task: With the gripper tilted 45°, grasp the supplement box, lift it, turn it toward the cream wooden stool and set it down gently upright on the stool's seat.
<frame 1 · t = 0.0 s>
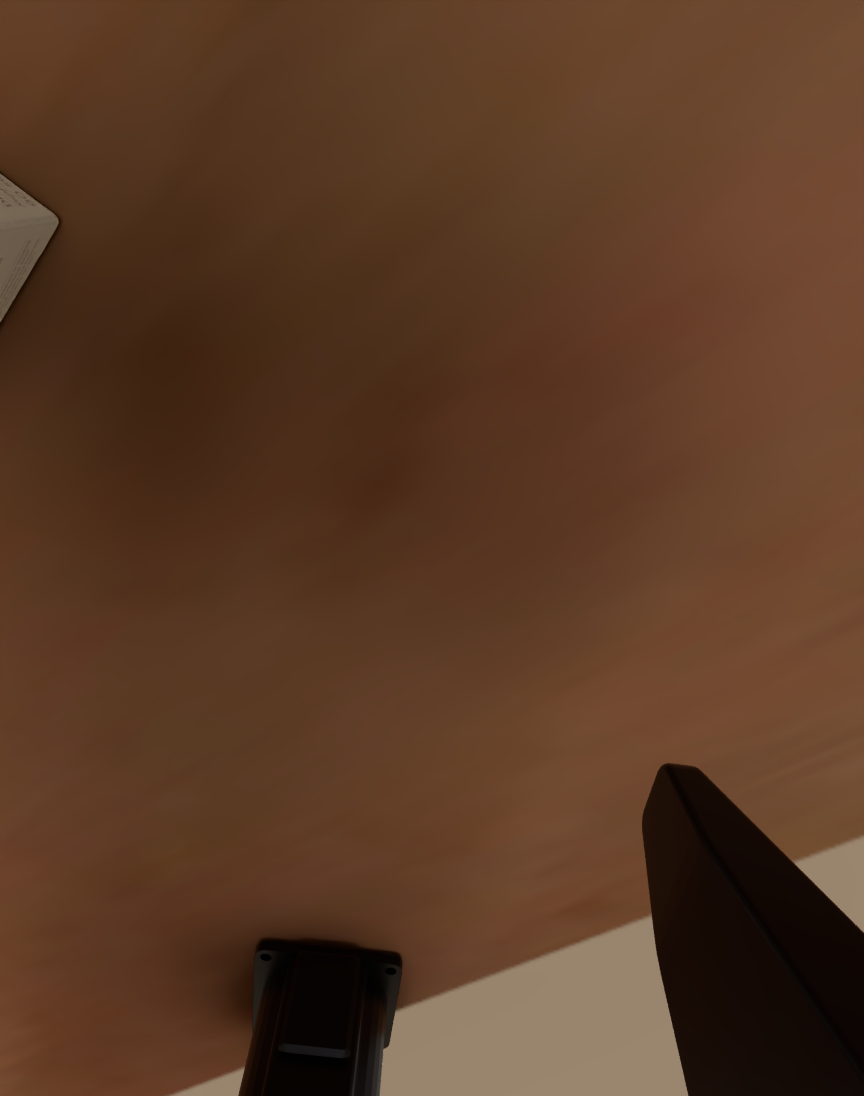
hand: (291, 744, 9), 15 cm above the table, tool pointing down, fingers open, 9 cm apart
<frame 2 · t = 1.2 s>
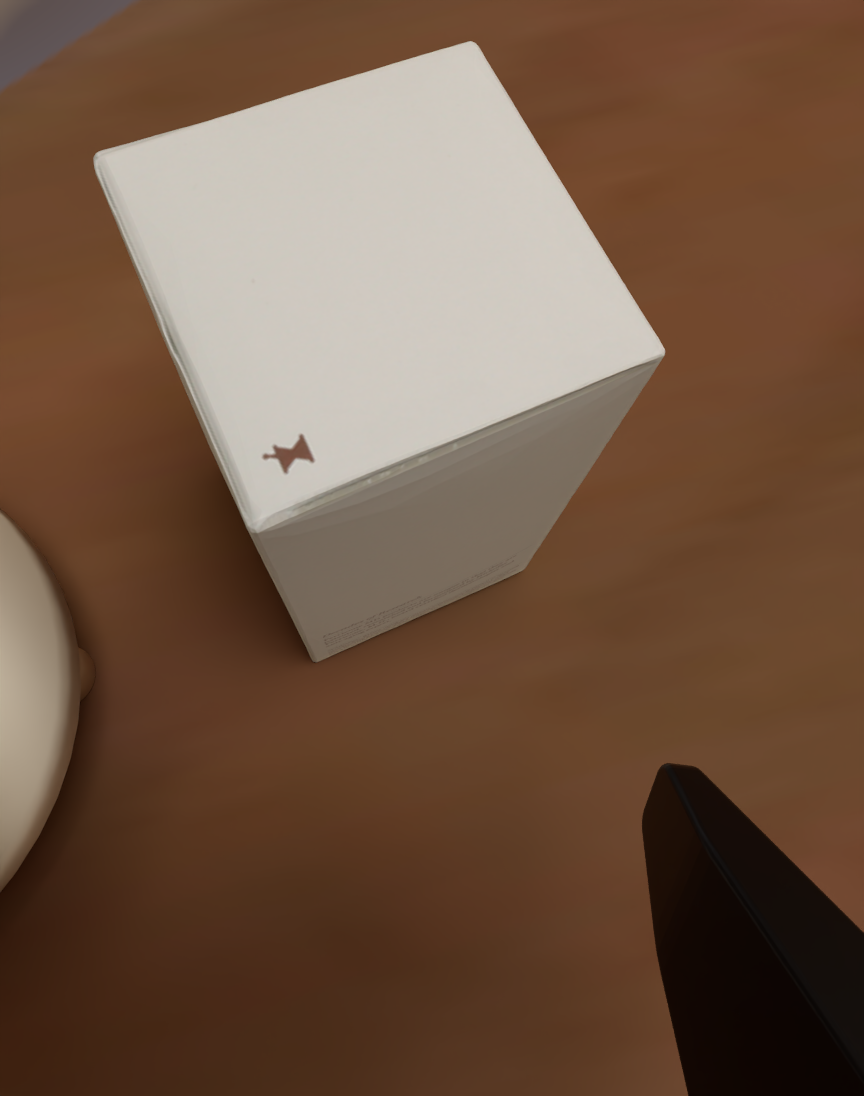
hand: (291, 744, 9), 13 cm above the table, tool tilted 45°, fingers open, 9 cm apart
supplement box: (376, 516, 24), on the table
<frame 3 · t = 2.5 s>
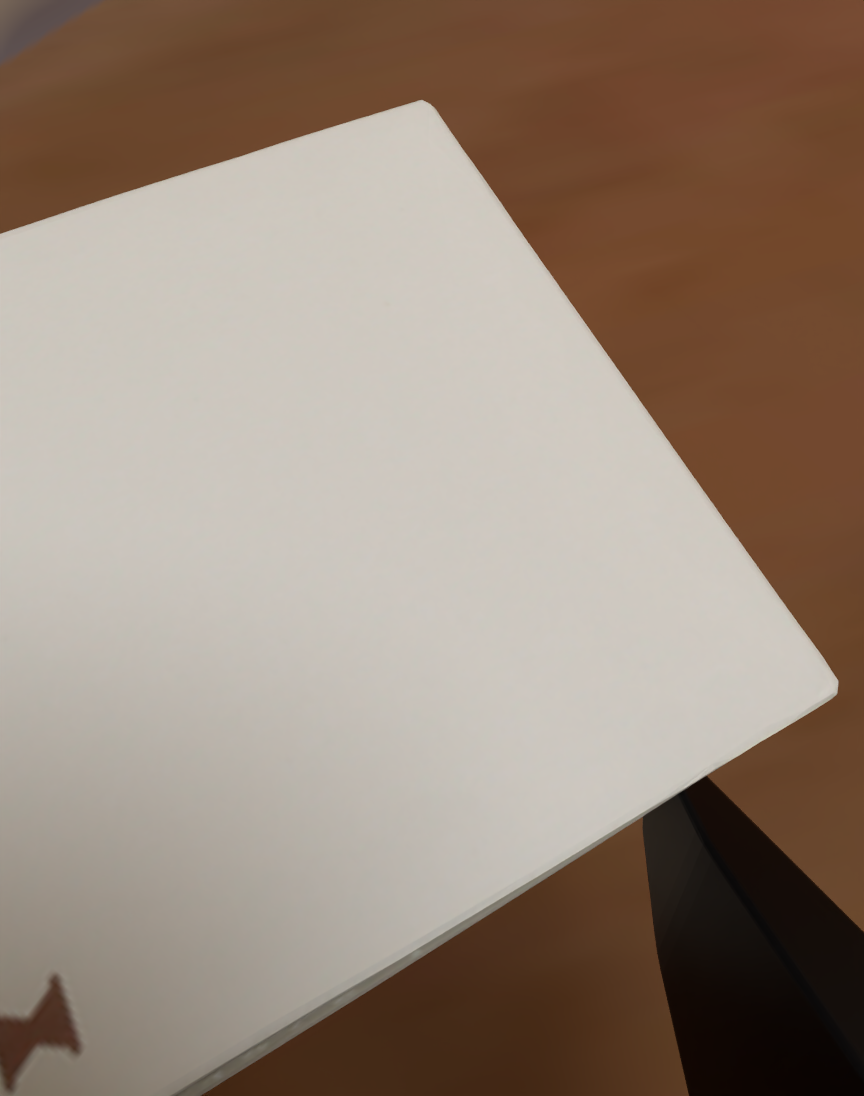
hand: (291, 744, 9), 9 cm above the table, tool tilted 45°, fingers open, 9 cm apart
supplement box: (330, 733, 18), on the table
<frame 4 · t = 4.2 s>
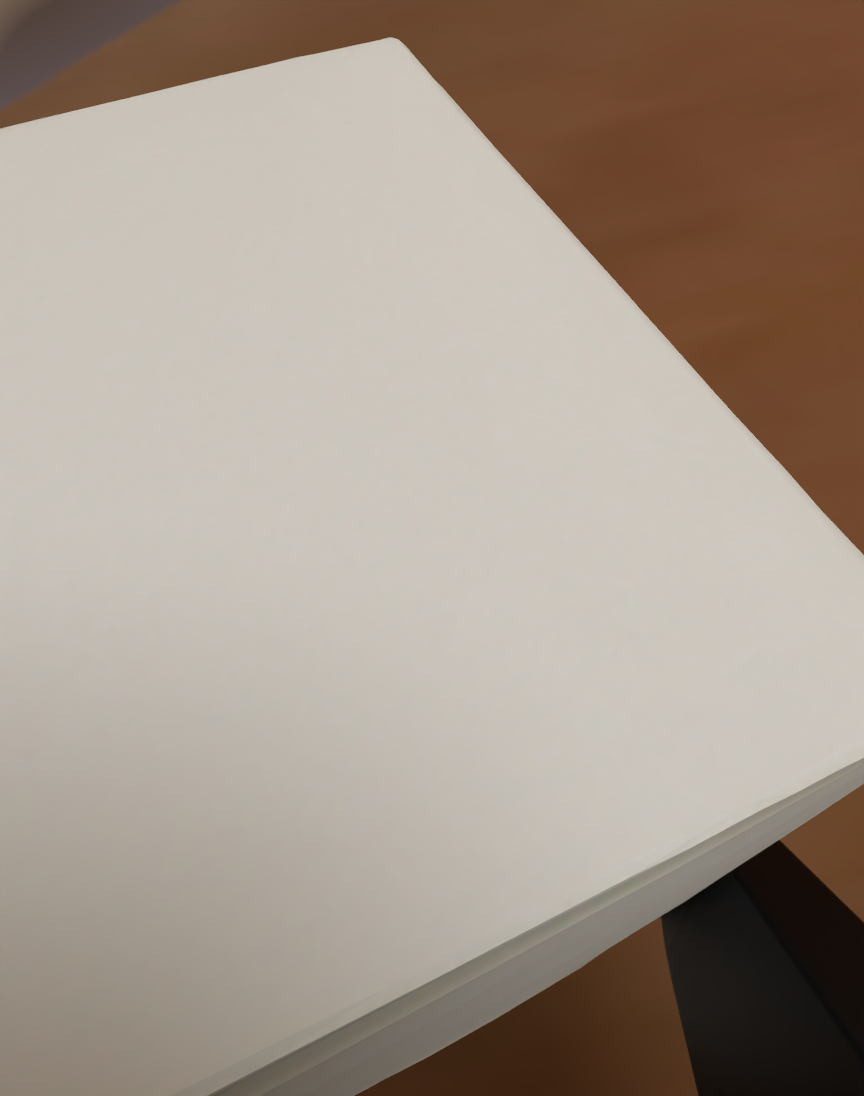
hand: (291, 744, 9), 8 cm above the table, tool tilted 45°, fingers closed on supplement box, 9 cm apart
supplement box: (340, 857, 15), point 1 cm above the table, touching gripper
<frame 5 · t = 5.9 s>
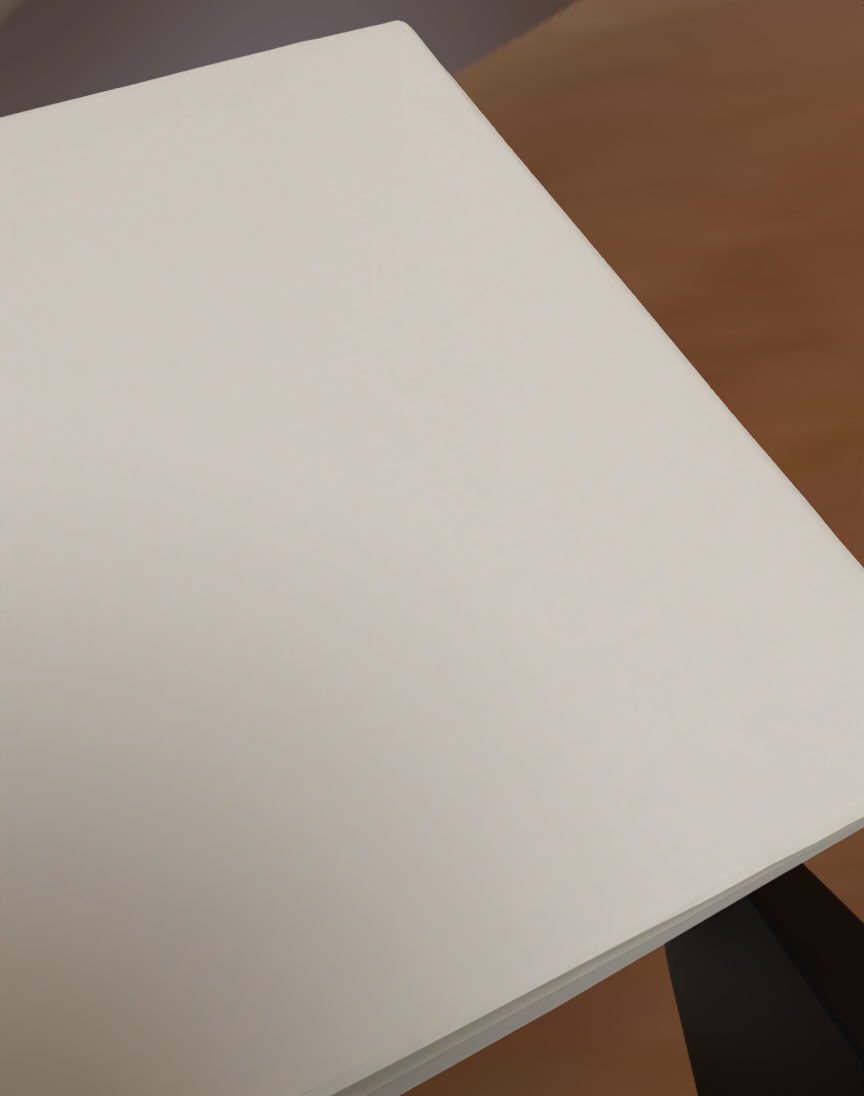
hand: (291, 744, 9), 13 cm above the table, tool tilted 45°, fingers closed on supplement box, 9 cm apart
supplement box: (343, 839, 15), point 6 cm above the table, touching gripper
when the fingers open (12 cm above the table, at t = 8.6 s): supplement box stays where it is, resting on stool.
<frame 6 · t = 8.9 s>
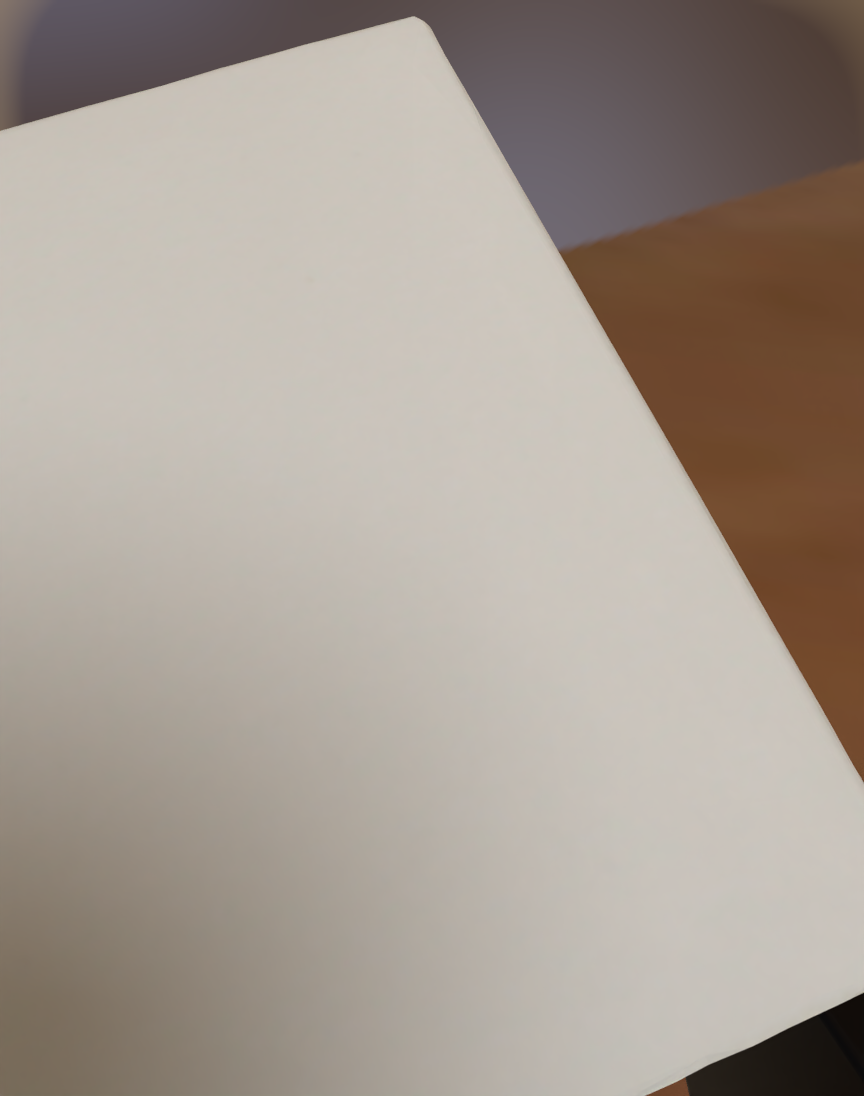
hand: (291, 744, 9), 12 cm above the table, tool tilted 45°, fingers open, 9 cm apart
supplement box: (346, 774, 16), point 4 cm above the table, touching gripper, stool
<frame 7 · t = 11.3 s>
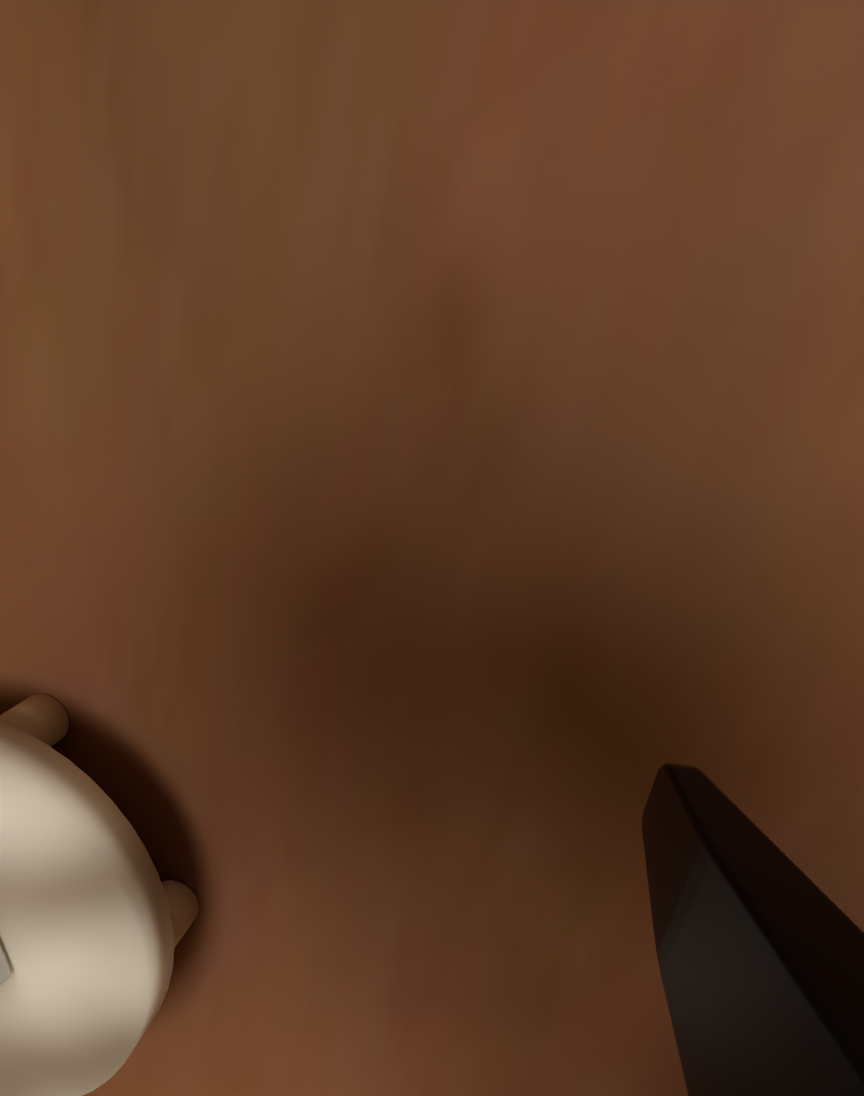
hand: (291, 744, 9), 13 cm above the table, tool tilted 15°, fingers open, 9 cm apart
stool: (36, 851, 28), on the table
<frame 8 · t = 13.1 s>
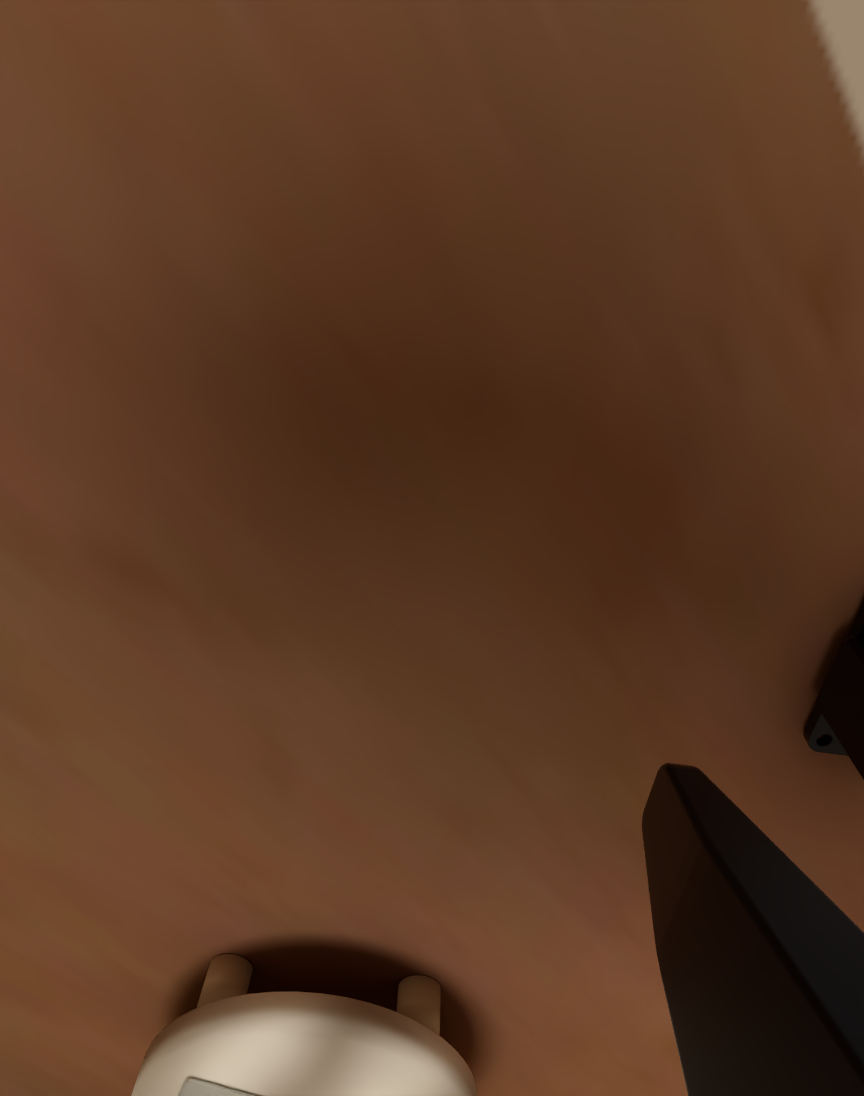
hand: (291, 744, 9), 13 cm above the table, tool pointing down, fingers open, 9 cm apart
stool: (319, 1032, 34), on the table
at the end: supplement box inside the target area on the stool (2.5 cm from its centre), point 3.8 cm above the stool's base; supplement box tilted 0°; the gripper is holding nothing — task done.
